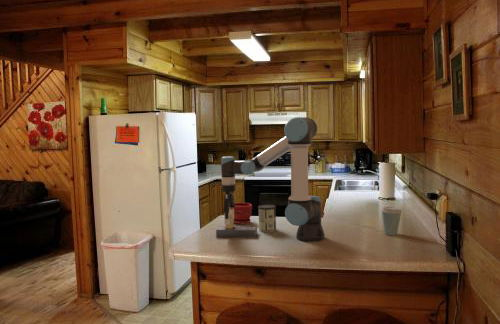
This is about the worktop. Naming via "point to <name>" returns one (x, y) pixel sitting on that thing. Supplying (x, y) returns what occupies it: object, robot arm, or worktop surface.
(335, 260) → the worktop surface
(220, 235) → the grey flat block
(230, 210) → the brass peg
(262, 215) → the coffee can
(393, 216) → the disposable coffee cup
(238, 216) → the plant pot
